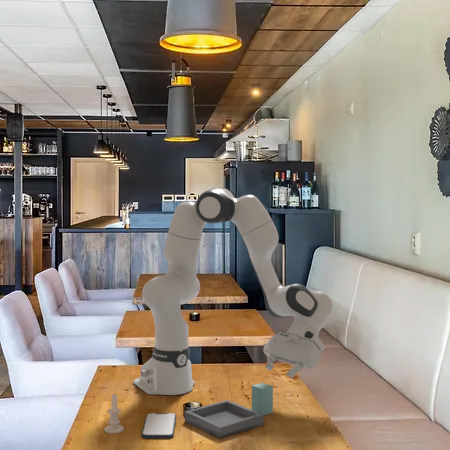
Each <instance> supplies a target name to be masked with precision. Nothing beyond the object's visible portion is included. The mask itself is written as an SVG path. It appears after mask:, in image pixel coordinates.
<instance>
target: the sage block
mask: <svg viewBox="0 0 450 450" xmlns="http://www.w3.org/2000/svg"><path fill="white" fill-rule="evenodd" d="M273 396H274V386H273V385H270V384H267V383H264V382H260V383H257V384H252V385H251V410H253V411H256V412H258V413H261V414H263V415H264V416H265V415H269V414H273V413H274V412H273V410H274V397H273Z"/></svg>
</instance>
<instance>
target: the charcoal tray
mask: <svg viewBox="0 0 450 450" xmlns="http://www.w3.org/2000/svg"><path fill="white" fill-rule="evenodd" d="M195 408H196V409H195ZM195 408H192V409H189V410H184V422H185V423H187V424H189V425H191V426H193V427H194V428H197V429H199V430H201V431H204V432H205V433H207V434H209V435H211V436H213V437H215V438H217V439H219V440H220V439H221V440H222V439H224V438H227V437H231V436H233V435H236V434H240V433H243V432H246V431H249V430H252V429H256V428H260V427H262V426H264V418H265V415H263V414H261V413H258V412H256V411H253V410H252V408H248V407H246V406H243V405H241V404H238V403H236V402H234V401H231V400H229V399H225V400H223V401H219V402H215V403H211V404H208V405H203V406H200V407H199V406H198V407H195Z"/></svg>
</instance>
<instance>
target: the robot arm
mask: <svg viewBox="0 0 450 450" xmlns="http://www.w3.org/2000/svg"><path fill="white" fill-rule="evenodd" d="M197 197H198V198H197V200H196V202H195V201H182V202H180V203H179V204H178V205H177V206H176V208H175V210H174V213H173V215H172V218H171V220H170V222H169V223H170V224H169V226H168V227H169V228H168V232H167V235H166V241H165V245H164V249H163V256H164V258H165V259H166V262H167V272H166V274H164V275H163V274H162V275H158V276H155V277H154V278H151V279H150V280H148V281H147V282H145V284H144V285H143V287H142V291H141V297H142V300H143V302H144V304H145V305H146V306H147V307H148V308H149V309H150V311H151V314H152V318H153V321H154V332H155V333H154V335H155V336H154V337H155V338H154V339H155V340H154V341H155V342H154V343H155V345H154V347H153V346H152V347H151V349H150V350H151V352H152V354H151V357H150V359H148V360H147V361H146V362H145V363H144V364H142V365H141V368H140V376H139V377H137V378H135V379H133V384H134V385H135V386H137V387H138V388H139V389H141V390H142V391H143V392H144V393H146V394H147V395H162V396H165V395H166V396H176V395H182V394H187V393H190V392H191V391H192V390H193V389H194V387H193V386H194V385H195V384H196V383H195V380H194V379H193V371H192V362H191V360H190V354H191V353H190V352H191V351H190V346H189V324H188V322H187V320H185V318H184V316H183V314H182V309H181V305H185V304H188V303H190V302H191V301H193V300H194V299H195V298H196V297H197V296H199V293H200V291H201V290H200V289H201V283H200V280H199V279H198V277H197V260H198V259H197V258H198V253H199V248H200V244H201V242H202V241H201V240H202V235H203V232H204V231H203V230H204V228H205V225H207V224H213V225H214V224H219V223H220V224H221V223H226V222H232V223H233V224H234V225H235V227H236V228H237V230H238V232H239V234H240V236H241V237H242V239H243V242H244V244H245V246H246V249H247V253H248V254H249V255H248V256H249V260H250V262H251V265H252V268H253V271H254V273H255V275H256V278H257V279H258V283H259V285H260V287H261V290H262V293H263V297H264V298H263V299H264V305H265V309H266V311H267V312H268V314H269V315H270V316H272V317H274V318H275V319H286V318H287V317H290V316H291V317H293V318H294V320H293V322H292V323H291V325H290V327H289V329H288V330H287V332H283V331H279V332H278V333H275V334H274V335H273V336H271V338H270V339H269V340H268V341H267V343H265V345H264V346H263V353H264V355H265V356H266V357H267V363H266V365H265V369H266V370H268V371H273V368H275V367H274V365H273V363H274V362H275V361H276V360H278V361H281V362H283V363H288V364H291V365H294V366H293V367H292V368H291V369H290V368H289V369H288V371H287V372H286V376H288V377H290V378H294V377H295V375H296V374H297V373H299V372H300V371H302V369H303V368H304V369H307V370H313V369H315V367H316V366H317V364H318V363H319V361H320V359H321V356H322V352H324V351H325V349H326V346H325V344H324V342H322V340H321V339H320V338H319V332H320V331H321V330H322V328H324V326H325V325H326V323H327V321H328V320H329V318H330V316H331V314H332V311H333V306H334V305H333V301H332V299H331V298H330V297H329V295H327V294H326V293H325V292H323V291H320V290H313V289H310V288H307V287H306V286H305V285H303V284H301V283H293V284H288V285H286V286H283V285H282V284H281V283H280V281H279V278H278V275H277V273H276V271H275V269H274V266H273V263H272V256H273V253H274V251H275V249H276V248H277V246H278V243H279V239H280V237H279V233H278V230H277V228H276V225H275V223H274V222H273V220H272V218H271V216H270V213H269V212H268V211H267V209H266V207H265V205H263V203H262V202H261V201H260V199H259V198H258V197H257V196H255V195H254V194H245V195H242V196H240V197H238V198H237V197H236V196H235V193H234V192H232V190H230V189H228V188H227V187H223V186H221V187H212V188H210V189H207V190H204V191H203V192H201V194H200V195H199V196H197Z"/></svg>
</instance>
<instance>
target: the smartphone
mask: <svg viewBox="0 0 450 450" xmlns="http://www.w3.org/2000/svg"><path fill="white" fill-rule="evenodd" d="M144 419H145V420H144V423H143V427H142V432H141V438H142V439H143V440H144V439H145V440H150V439H153V440H157V439H158V440H162V439H164V440H166V439H167V440H169V439H173V438H174V436H175V431H176V425H177V414H176V413H174V412H163V413H162V412H160V413H159V412H157V413H155V412H151V413H146V415H145V418H144ZM174 430H175V431H174Z"/></svg>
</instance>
